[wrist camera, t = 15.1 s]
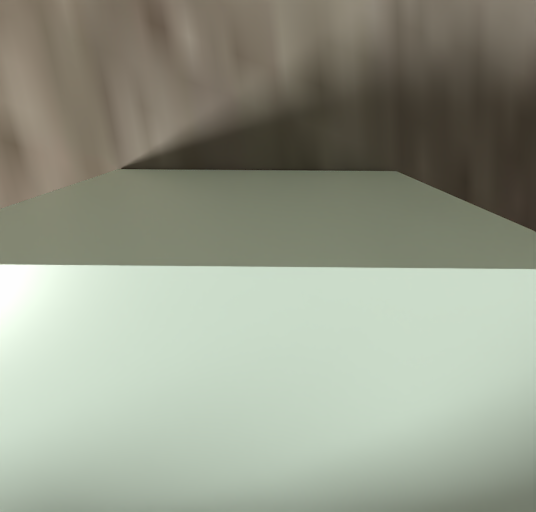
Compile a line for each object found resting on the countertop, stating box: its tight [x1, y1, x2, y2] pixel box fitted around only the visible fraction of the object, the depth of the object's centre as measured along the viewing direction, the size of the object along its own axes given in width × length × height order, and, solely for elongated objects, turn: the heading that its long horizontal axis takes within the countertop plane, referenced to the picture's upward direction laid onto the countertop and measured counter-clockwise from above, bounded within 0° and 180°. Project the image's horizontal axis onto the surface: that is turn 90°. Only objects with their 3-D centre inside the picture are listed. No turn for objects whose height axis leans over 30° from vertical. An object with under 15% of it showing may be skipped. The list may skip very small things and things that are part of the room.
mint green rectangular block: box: [0, 169, 536, 512], centre depth 8 cm, size 12×7×7 cm, turn 0°
